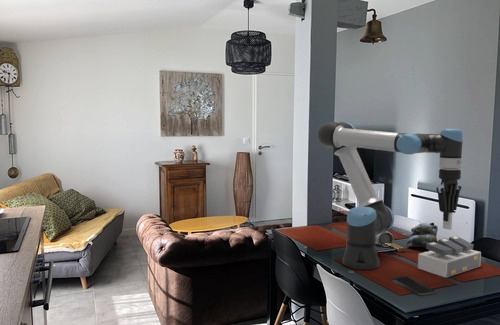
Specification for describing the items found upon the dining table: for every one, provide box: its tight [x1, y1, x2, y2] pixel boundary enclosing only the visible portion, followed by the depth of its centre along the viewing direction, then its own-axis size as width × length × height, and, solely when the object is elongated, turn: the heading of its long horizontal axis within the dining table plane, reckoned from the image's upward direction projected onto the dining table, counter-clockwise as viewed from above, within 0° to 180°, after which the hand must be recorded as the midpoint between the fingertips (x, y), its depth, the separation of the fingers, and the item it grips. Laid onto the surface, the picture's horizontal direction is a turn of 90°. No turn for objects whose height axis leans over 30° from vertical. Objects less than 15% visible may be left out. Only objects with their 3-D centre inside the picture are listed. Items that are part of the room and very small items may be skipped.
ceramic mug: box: [375, 230, 395, 246], centre depth 191 cm, size 11×8×8 cm
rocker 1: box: [425, 242, 452, 256], centre depth 156 cm, size 8×5×2 cm, turn 31°
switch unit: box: [417, 249, 482, 278], centre depth 160 cm, size 24×12×8 cm, turn 121°
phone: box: [391, 275, 437, 297], centre depth 140 cm, size 8×1×15 cm
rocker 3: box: [448, 235, 475, 251], centre depth 163 cm, size 8×5×2 cm, turn 31°
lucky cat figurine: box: [406, 222, 439, 248], centre depth 187 cm, size 15×12×14 cm
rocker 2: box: [437, 237, 463, 254], centre depth 159 cm, size 8×5×2 cm, turn 31°
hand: (447, 228), depth 152 cm, fingers closed
